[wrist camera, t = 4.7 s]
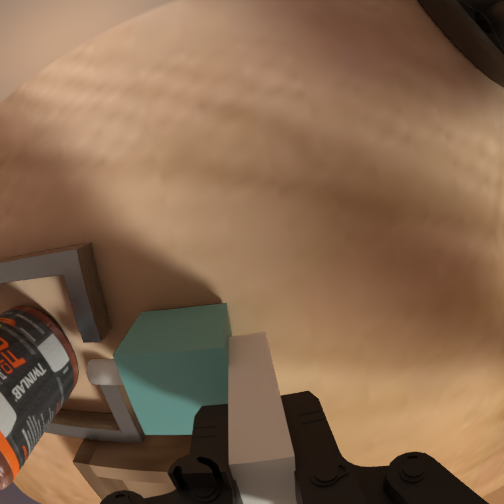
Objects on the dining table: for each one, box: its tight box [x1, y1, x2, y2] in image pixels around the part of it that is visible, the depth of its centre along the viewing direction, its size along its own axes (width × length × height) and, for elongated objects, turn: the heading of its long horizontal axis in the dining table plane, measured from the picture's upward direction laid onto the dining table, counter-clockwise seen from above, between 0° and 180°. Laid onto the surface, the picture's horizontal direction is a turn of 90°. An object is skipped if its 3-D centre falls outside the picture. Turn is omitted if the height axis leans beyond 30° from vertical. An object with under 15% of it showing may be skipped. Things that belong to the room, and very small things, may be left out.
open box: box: [73, 435, 192, 500], centre depth 15 cm, size 11×11×3 cm
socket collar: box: [0, 243, 146, 444], centre depth 13 cm, size 11×11×2 cm
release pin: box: [87, 303, 232, 435], centre depth 12 cm, size 6×4×4 cm, turn 97°
